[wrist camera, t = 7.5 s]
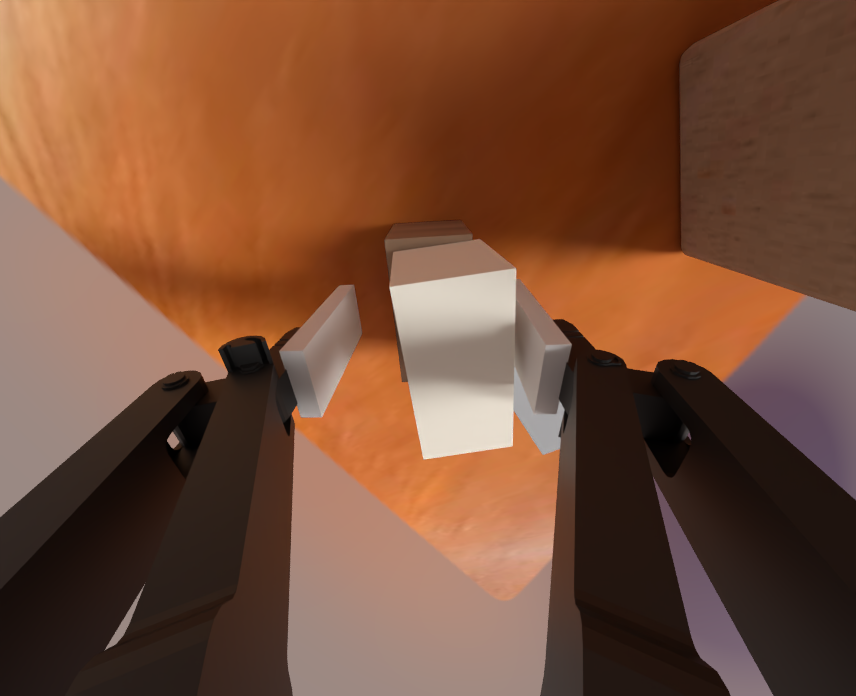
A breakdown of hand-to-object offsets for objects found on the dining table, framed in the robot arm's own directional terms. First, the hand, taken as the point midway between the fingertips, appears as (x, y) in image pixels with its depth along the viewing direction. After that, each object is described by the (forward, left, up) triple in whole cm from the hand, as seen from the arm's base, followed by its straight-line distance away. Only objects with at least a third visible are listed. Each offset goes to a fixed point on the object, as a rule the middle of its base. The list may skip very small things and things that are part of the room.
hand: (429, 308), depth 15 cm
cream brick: (+1, +1, 0) cm, 1 cm away
